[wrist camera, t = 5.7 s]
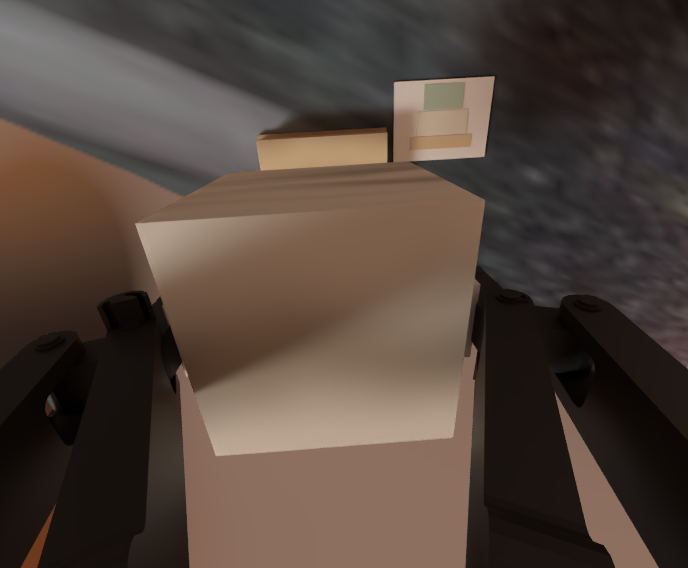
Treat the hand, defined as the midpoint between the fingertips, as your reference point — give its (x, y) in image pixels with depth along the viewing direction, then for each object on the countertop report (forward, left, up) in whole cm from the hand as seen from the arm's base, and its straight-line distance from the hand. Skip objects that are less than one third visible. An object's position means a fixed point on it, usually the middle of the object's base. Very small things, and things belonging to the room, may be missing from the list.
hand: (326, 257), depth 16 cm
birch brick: (0, 0, 0) cm, 0 cm away
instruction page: (-5, +10, -15) cm, 19 cm away
